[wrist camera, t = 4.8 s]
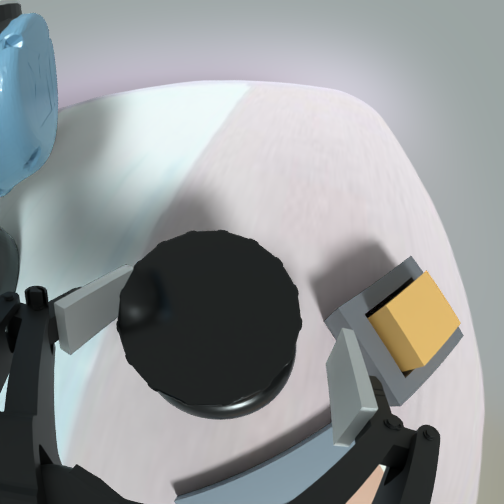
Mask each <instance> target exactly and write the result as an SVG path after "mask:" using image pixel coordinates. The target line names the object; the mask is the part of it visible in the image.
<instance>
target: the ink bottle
mask: <svg viewBox="0 0 504 504" xmlns="http://www.w3.org/2000/svg"><path fill="white" fill-rule="evenodd" d="M298 294H299V293H298V289H297V287H296V285H294V284H293V282H292V280H291V278H290V277H289V275H288V273H287V272H286V270H285V268H284V267H283V263H282V262H281V260H280V259H279V258H277V257H275V256H273V255H272V254H271V253H270V252H268V251H267V250H266V249H264V248H263V247H262V246H260V245H259V244H258V242H257V241H255V240H253V239H248V238H245V237H242V236H239V235H235V234H232V233H229V232H228V231H225V230H218V231H198V232H196V231H189V232H187V233H186V234H183V235H181V236H178V237H175V238H173V239H170V240H168V241H163V242H161V243H159V244H158V245H157V246H156V248H155V249H153V250H152V251H151V252H150V253H149V254H147V255H146V256H145V257H144V258H143V259H142V260H141V261H138V262H137V263H136V264H135V266H134V268H133V271H132V273H131V275H130V276H129V278H128V280H127V282H126V284H125V286H124V288H123V289H122V290H121V292H120V296H119V298H120V303H119V312H118V321H117V324H116V325H117V331H118V332H119V335H120V338H121V342H122V345H123V348H124V351H125V354H126V355H125V357H126V359H127V361H128V363H129V364H130V365H132V366H133V367H134V369H135V370H136V371H137V372H138V373H139V374H140V376H141V377H142V378H143V379H144V380H145V381H146V382H147V383H148V386H149V387H150V388H151V389H153V390H154V391H156V392H158V393H159V394H160V395H161V396H162V397H163V398H164V399H165V400H167V401H168V402H169V403H170V404H172V405H173V406H175V407H176V408H178V409H180V410H182V411H184V412H186V413H188V414H191V415H194V416H197V417H201V418H207V419H218V420H222V419H233V418H238V417H242V416H246V415H248V414H251V413H253V412H256V411H258V410H259V409H261V408H263V407H264V406H266V405H267V404H269V403H270V402H271V401H272V400H273V399H274V398H275V397H276V396H277V395H278V394H279V393H280V392H281V390H282V389H283V387H284V386H285V384H286V383H287V381H288V379H289V377H290V374H291V372H292V369H293V366H294V362H295V356H296V341H297V338H298V334H299V331H300V330H301V328H302V319H301V317H300V308H299V300H298Z"/></svg>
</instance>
